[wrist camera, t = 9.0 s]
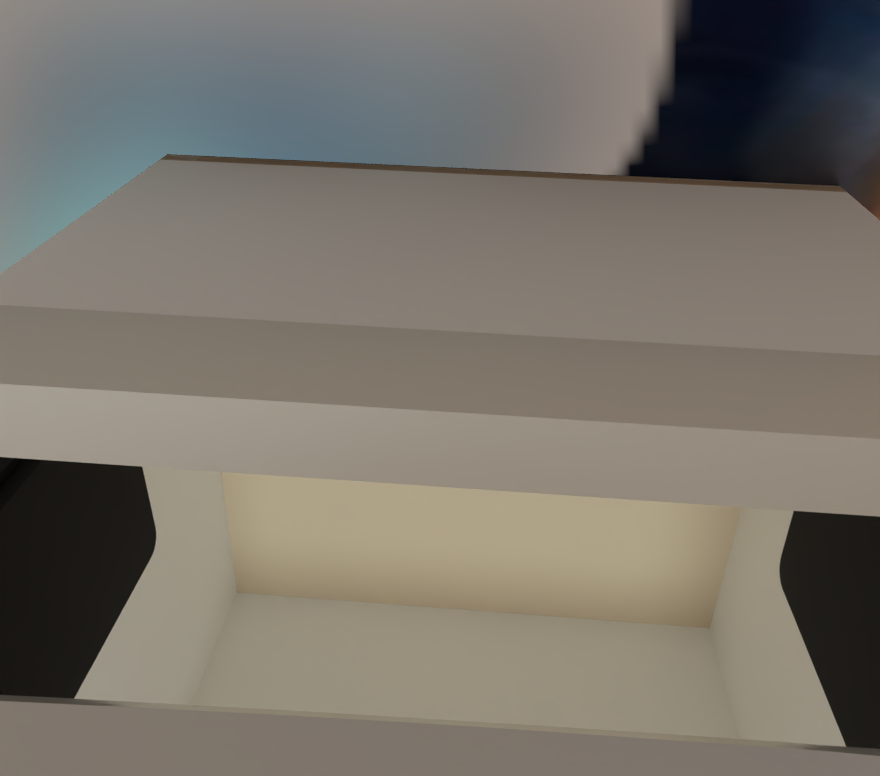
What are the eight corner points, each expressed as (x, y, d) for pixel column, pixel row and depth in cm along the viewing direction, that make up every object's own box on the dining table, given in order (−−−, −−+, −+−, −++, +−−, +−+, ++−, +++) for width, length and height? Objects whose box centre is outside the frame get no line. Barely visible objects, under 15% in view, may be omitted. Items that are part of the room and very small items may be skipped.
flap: (1074, 397, 14) (1080, 367, 14) (2120, 600, 5) (2149, 519, 5) (-66, 329, 15) (-68, 301, 15) (-890, 396, 6) (-901, 327, 6)
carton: (839, 186, 24) (1083, 396, 14) (718, 628, 33) (811, 955, 23) (167, 154, 25) (-74, 327, 15) (228, 591, 34) (105, 888, 24)
